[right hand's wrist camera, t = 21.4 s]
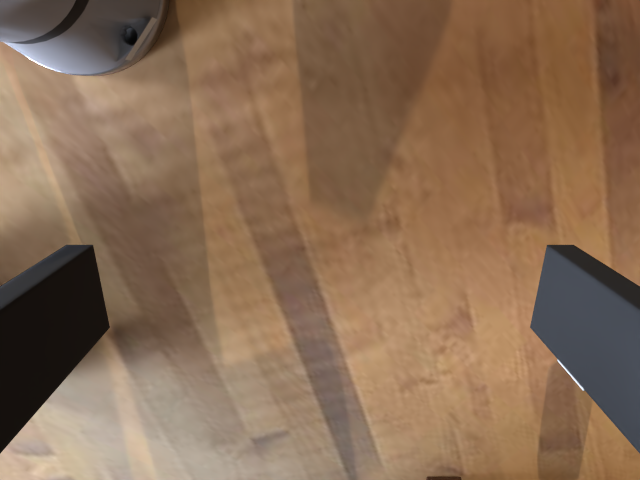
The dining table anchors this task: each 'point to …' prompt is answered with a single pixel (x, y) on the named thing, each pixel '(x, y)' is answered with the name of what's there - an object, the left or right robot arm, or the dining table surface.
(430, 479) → the walnut beam
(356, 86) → the dining table surface
